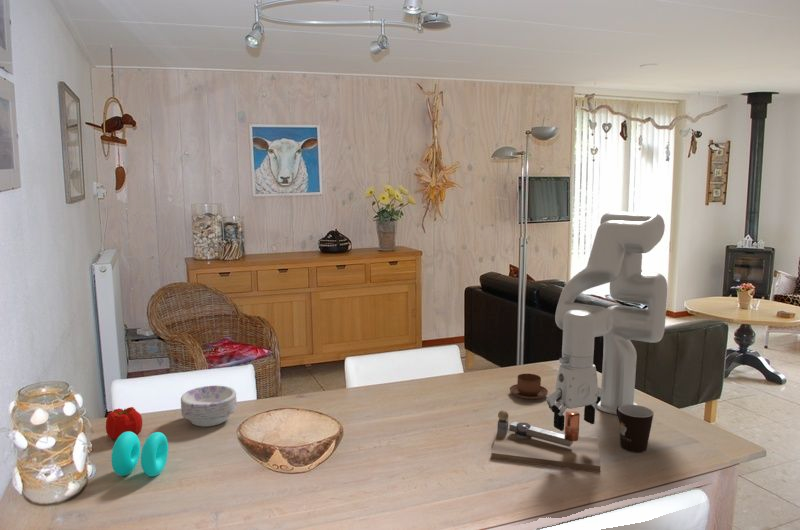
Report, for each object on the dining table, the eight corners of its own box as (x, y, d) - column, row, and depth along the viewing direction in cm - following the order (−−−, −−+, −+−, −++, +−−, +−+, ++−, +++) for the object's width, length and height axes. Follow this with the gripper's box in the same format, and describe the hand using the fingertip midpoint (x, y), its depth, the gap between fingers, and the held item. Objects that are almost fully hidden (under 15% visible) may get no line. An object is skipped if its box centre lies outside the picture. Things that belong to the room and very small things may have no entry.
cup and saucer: (508, 388, 203) (509, 370, 202) (545, 390, 201) (546, 372, 200) (510, 401, 191) (510, 382, 190) (549, 403, 189) (550, 384, 188)
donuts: (130, 463, 149) (128, 424, 148) (171, 463, 149) (169, 425, 147) (110, 483, 139) (107, 442, 138) (153, 484, 139) (151, 443, 137)
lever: (508, 431, 162) (509, 401, 161) (514, 426, 165) (515, 397, 164) (575, 449, 152) (576, 417, 150) (580, 444, 154) (581, 412, 153)
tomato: (148, 436, 164) (146, 410, 163) (114, 447, 157) (112, 420, 156) (133, 426, 170) (131, 401, 169) (100, 436, 164) (98, 410, 163)
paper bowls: (195, 436, 164) (193, 408, 163) (173, 419, 176) (172, 392, 174) (246, 421, 174) (245, 395, 173) (223, 406, 186) (222, 381, 184)
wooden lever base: (498, 431, 168) (499, 406, 167) (596, 443, 161) (598, 416, 160) (491, 458, 152) (492, 430, 151) (600, 472, 145) (601, 443, 144)
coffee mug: (654, 456, 154) (656, 418, 152) (618, 452, 156) (620, 415, 154) (645, 436, 165) (647, 401, 164) (612, 434, 167) (614, 399, 165)
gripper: (559, 369, 144) (556, 437, 146) (615, 360, 151) (611, 425, 154) (539, 360, 151) (536, 425, 153) (593, 351, 158) (590, 414, 160)
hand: (574, 425), depth 153 cm, fingers open, 9 cm apart
